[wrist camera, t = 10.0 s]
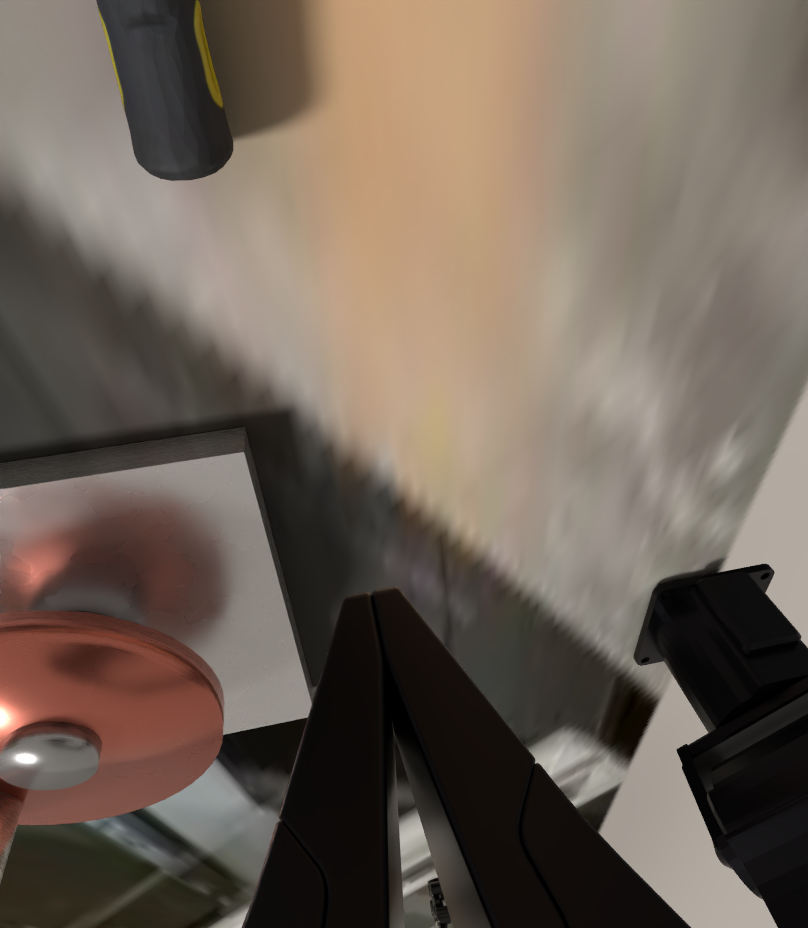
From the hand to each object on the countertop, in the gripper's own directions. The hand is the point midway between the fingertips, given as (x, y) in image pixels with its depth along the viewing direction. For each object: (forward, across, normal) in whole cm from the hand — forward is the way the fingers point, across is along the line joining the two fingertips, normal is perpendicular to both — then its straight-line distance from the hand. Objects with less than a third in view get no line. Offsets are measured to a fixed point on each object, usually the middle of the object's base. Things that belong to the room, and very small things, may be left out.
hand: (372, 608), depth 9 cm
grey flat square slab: (+12, +11, +12) cm, 20 cm away
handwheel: (+8, +11, +12) cm, 18 cm away
